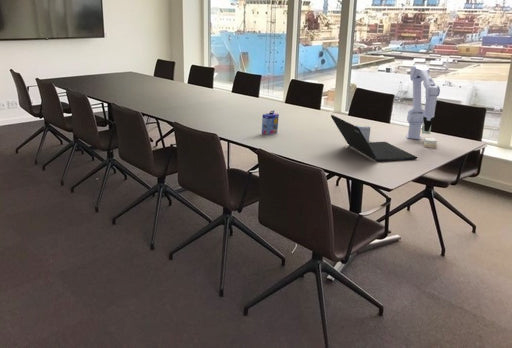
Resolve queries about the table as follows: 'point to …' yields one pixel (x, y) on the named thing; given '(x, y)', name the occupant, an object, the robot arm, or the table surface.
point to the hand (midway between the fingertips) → (426, 130)
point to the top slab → (430, 141)
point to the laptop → (370, 143)
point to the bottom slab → (429, 145)
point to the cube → (426, 131)
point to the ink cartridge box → (270, 123)
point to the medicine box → (365, 131)
